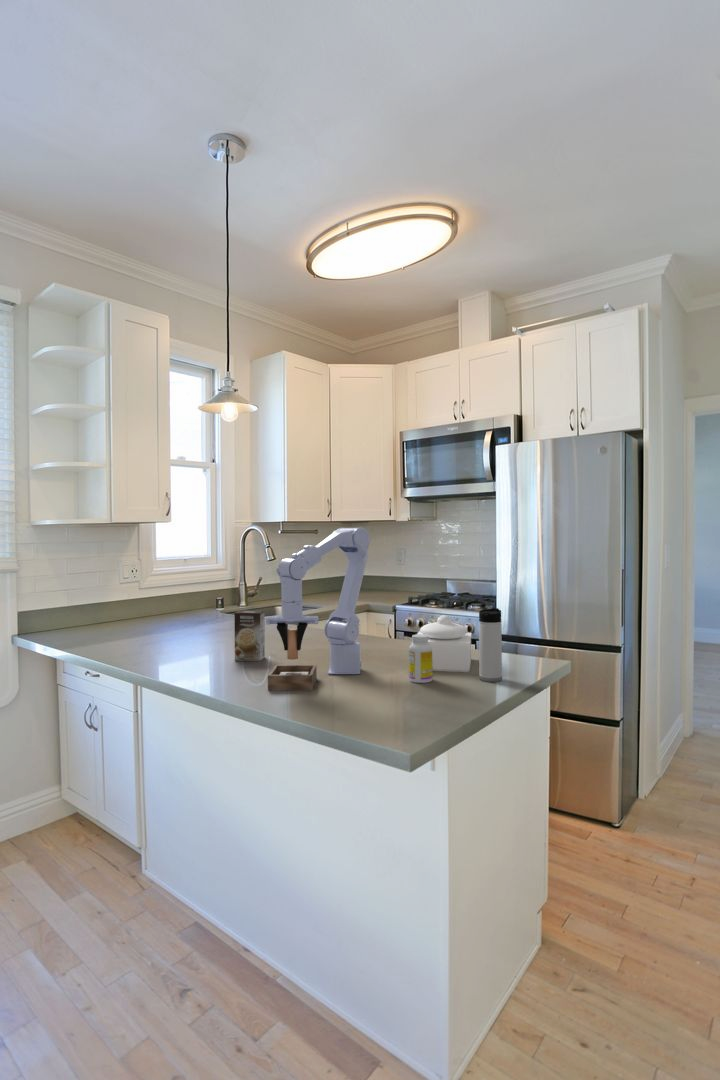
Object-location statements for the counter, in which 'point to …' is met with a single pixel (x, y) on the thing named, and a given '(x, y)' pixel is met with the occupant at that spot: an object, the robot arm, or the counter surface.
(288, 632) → the peg
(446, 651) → the white lidded jar
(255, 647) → the coffee box
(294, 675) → the peg box
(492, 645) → the travel mug
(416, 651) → the supplement bottle
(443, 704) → the counter surface
